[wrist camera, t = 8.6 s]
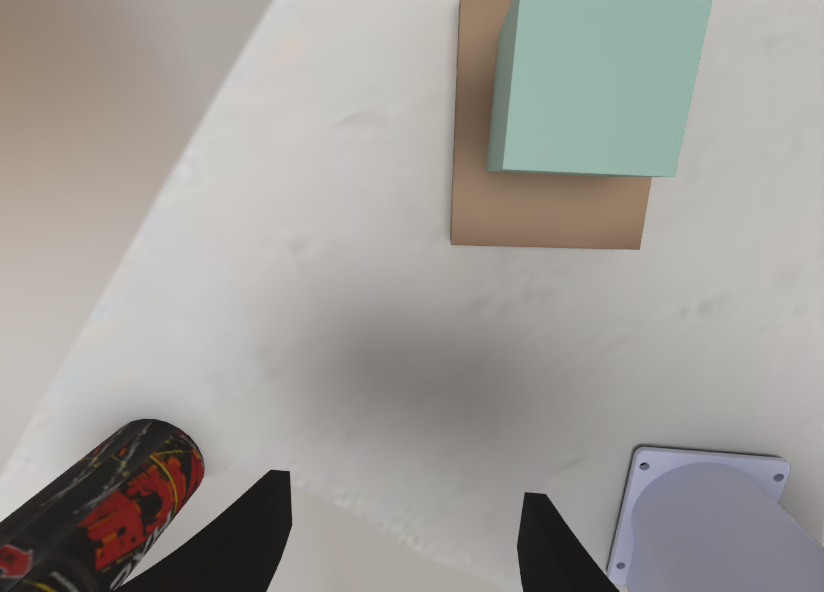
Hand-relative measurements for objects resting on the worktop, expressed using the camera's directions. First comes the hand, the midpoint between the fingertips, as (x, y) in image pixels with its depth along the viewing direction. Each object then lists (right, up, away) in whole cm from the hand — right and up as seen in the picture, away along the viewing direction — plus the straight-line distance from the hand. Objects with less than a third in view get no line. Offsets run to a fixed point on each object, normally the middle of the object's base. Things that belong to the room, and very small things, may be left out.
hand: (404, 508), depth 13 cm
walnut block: (+6, +14, +7) cm, 17 cm away
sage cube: (+6, +14, +4) cm, 16 cm away
